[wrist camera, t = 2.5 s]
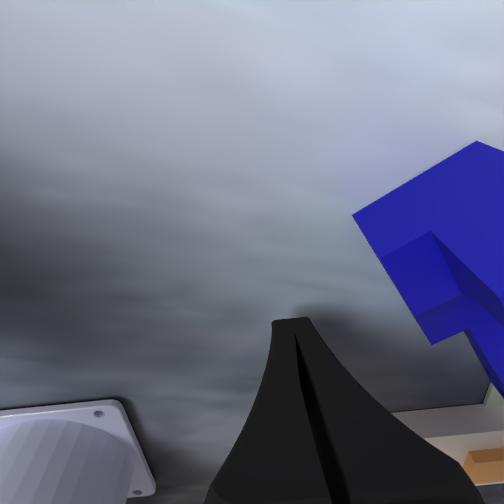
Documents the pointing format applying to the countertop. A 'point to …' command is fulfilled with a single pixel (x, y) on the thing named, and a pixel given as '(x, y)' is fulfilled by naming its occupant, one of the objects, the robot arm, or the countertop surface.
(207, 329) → the countertop surface
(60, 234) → the countertop surface
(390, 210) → the cable clip
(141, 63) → the countertop surface
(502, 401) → the mat
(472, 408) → the power strip
